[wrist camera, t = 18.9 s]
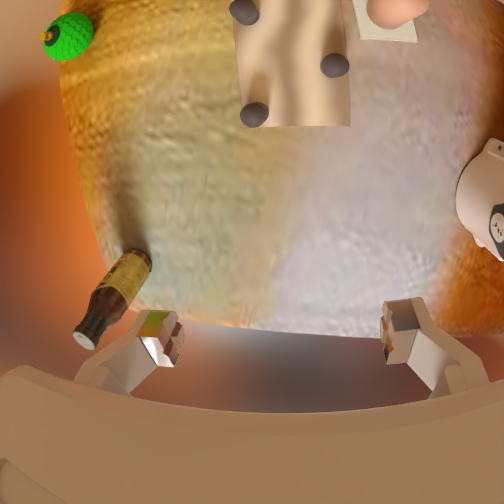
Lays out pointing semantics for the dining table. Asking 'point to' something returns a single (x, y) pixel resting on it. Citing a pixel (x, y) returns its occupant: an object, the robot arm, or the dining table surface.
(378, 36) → the mat
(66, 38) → the ornament
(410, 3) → the tan cylinder block
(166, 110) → the dining table surface
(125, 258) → the sauce bottle
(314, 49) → the post board
